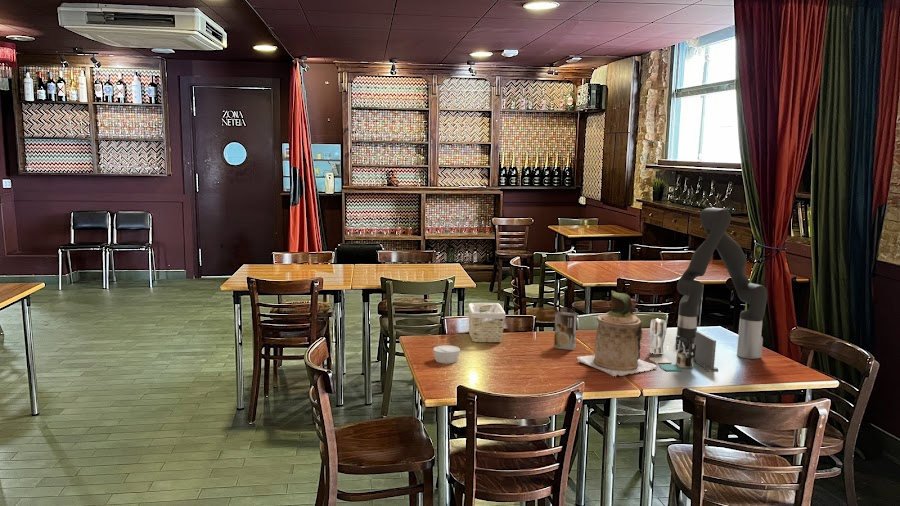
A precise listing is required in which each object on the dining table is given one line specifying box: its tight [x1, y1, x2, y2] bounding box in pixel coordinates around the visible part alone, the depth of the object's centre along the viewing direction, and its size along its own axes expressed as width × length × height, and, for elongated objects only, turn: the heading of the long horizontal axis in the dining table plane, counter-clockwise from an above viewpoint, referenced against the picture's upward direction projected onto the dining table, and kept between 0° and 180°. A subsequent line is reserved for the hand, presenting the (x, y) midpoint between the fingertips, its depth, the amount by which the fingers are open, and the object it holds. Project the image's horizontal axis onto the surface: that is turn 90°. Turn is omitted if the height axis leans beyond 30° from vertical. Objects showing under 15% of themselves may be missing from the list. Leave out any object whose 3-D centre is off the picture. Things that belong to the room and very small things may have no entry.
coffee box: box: [553, 311, 578, 351], centre depth 309 cm, size 9×6×16 cm
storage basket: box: [467, 302, 506, 343], centre depth 325 cm, size 24×16×15 cm
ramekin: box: [432, 344, 461, 365], centre depth 286 cm, size 11×11×5 cm
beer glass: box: [649, 318, 667, 355], centre depth 304 cm, size 7×7×15 cm
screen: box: [693, 330, 719, 372], centre depth 287 cm, size 5×16×13 cm, turn 7°
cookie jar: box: [576, 290, 658, 378], centre depth 282 cm, size 25×25×32 cm
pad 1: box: [648, 357, 672, 365], centre depth 292 cm, size 7×7×1 cm
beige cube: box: [675, 352, 694, 368], centre depth 287 cm, size 5×5×5 cm
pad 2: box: [658, 364, 683, 372], centre depth 282 cm, size 7×7×1 cm
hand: (684, 363), depth 287 cm, fingers open, 6 cm apart
